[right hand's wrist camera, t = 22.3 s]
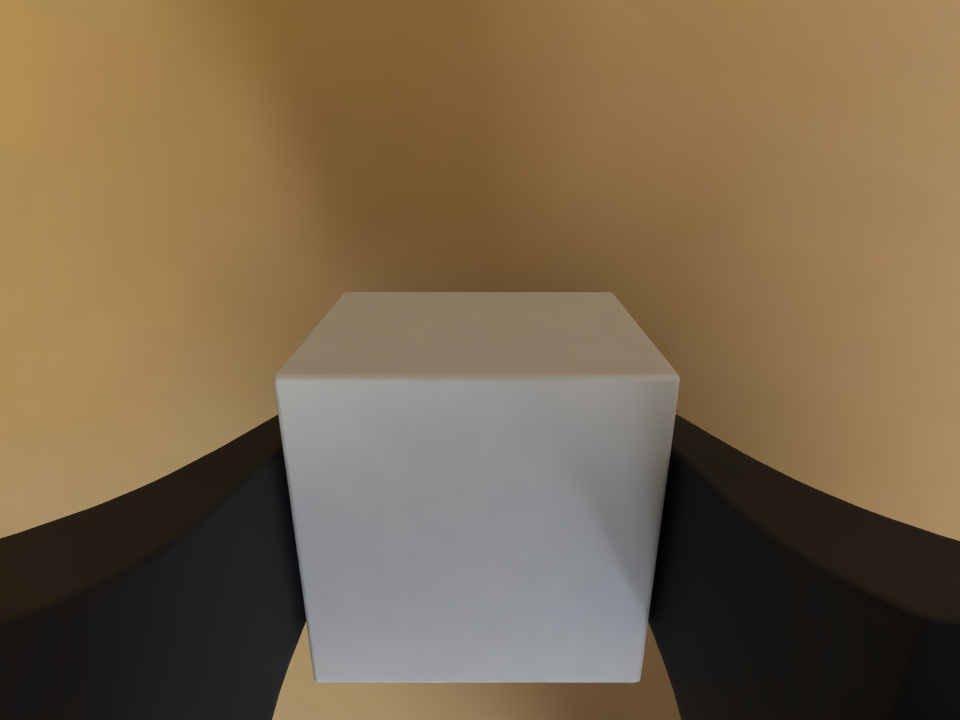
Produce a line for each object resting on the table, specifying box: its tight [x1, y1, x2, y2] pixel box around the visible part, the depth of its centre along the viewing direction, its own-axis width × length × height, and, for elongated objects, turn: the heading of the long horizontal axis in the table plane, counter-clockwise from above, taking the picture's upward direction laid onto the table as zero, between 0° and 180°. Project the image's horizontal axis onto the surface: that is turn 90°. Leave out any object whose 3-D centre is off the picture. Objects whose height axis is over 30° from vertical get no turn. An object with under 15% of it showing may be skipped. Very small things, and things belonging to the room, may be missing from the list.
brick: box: [274, 292, 680, 683], centre depth 10 cm, size 5×5×4 cm
